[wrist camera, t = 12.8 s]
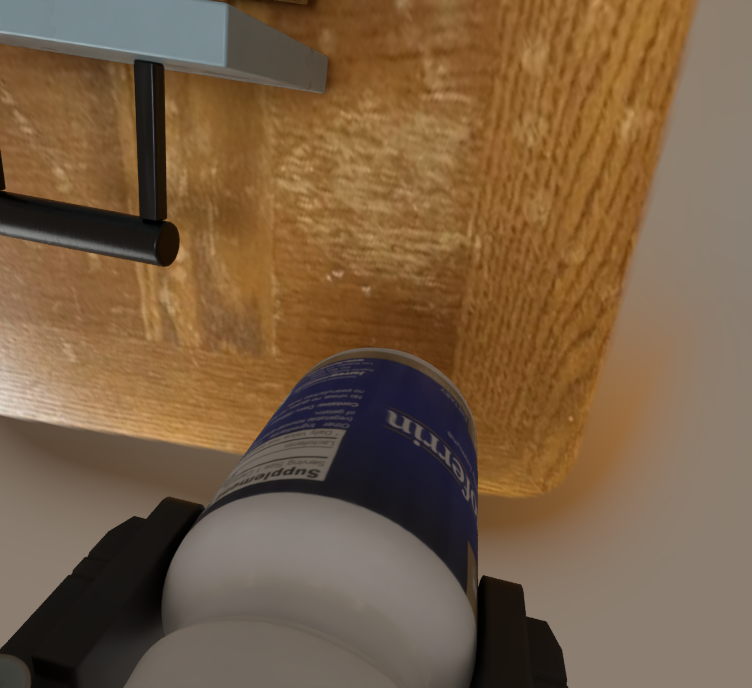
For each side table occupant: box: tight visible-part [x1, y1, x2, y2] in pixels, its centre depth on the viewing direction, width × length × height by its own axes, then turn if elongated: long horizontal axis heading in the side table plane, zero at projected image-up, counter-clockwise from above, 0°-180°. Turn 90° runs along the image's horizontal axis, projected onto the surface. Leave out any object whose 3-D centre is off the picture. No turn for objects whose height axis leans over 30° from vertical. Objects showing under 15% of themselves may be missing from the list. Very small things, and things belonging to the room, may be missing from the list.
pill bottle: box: [123, 348, 478, 688], centre depth 11 cm, size 6×6×10 cm
